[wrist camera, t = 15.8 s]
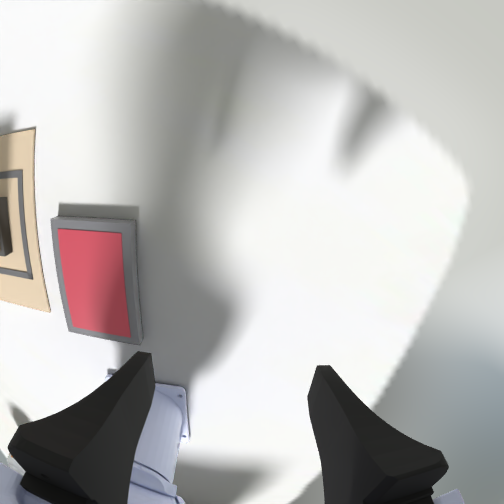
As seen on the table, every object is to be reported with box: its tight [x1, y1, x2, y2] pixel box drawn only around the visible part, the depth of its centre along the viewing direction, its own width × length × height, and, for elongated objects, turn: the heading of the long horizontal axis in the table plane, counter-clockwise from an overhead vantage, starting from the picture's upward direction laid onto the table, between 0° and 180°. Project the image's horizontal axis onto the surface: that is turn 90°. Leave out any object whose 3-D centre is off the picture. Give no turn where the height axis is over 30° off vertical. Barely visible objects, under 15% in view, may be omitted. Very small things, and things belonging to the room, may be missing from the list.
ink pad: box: [51, 216, 143, 345], centre depth 21 cm, size 10×7×1 cm
